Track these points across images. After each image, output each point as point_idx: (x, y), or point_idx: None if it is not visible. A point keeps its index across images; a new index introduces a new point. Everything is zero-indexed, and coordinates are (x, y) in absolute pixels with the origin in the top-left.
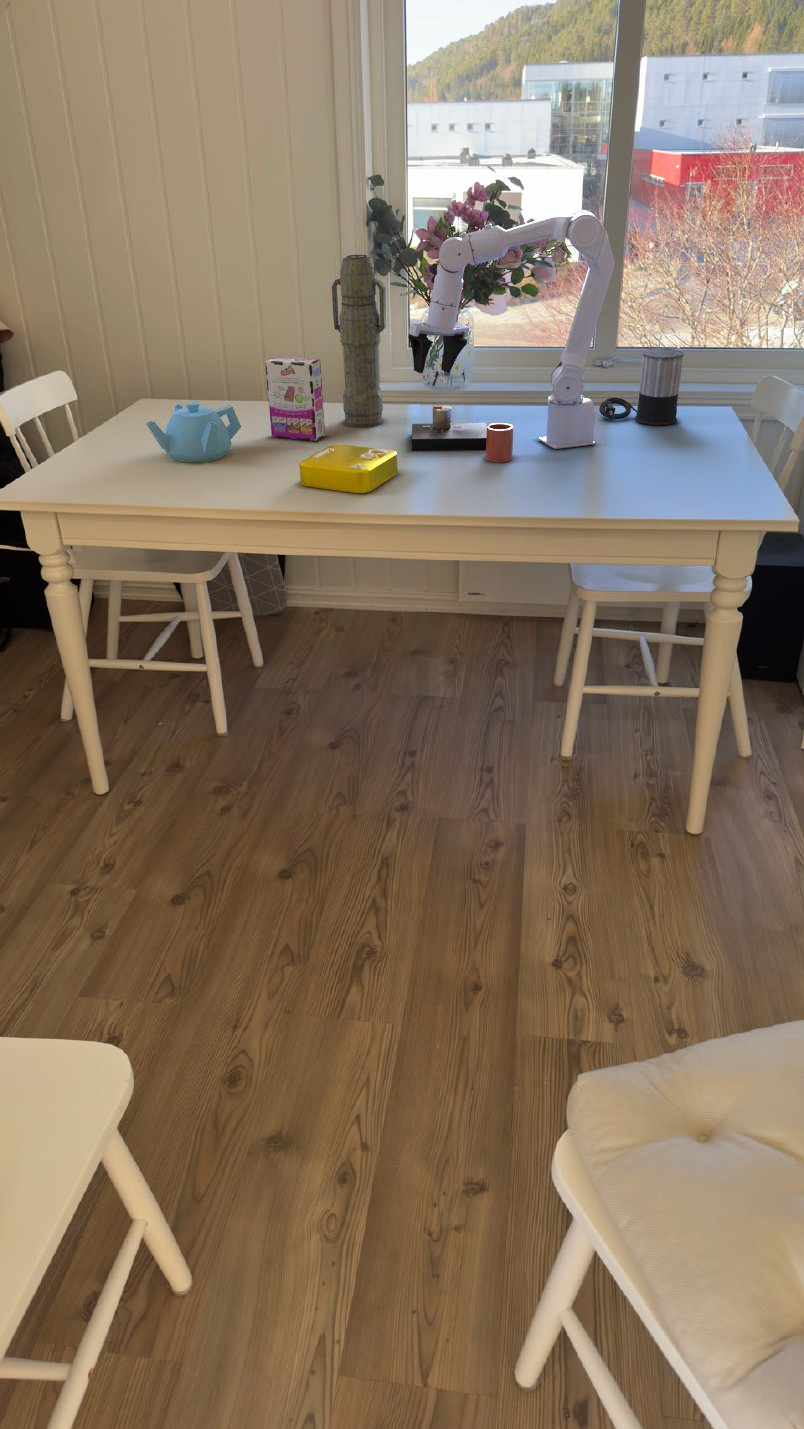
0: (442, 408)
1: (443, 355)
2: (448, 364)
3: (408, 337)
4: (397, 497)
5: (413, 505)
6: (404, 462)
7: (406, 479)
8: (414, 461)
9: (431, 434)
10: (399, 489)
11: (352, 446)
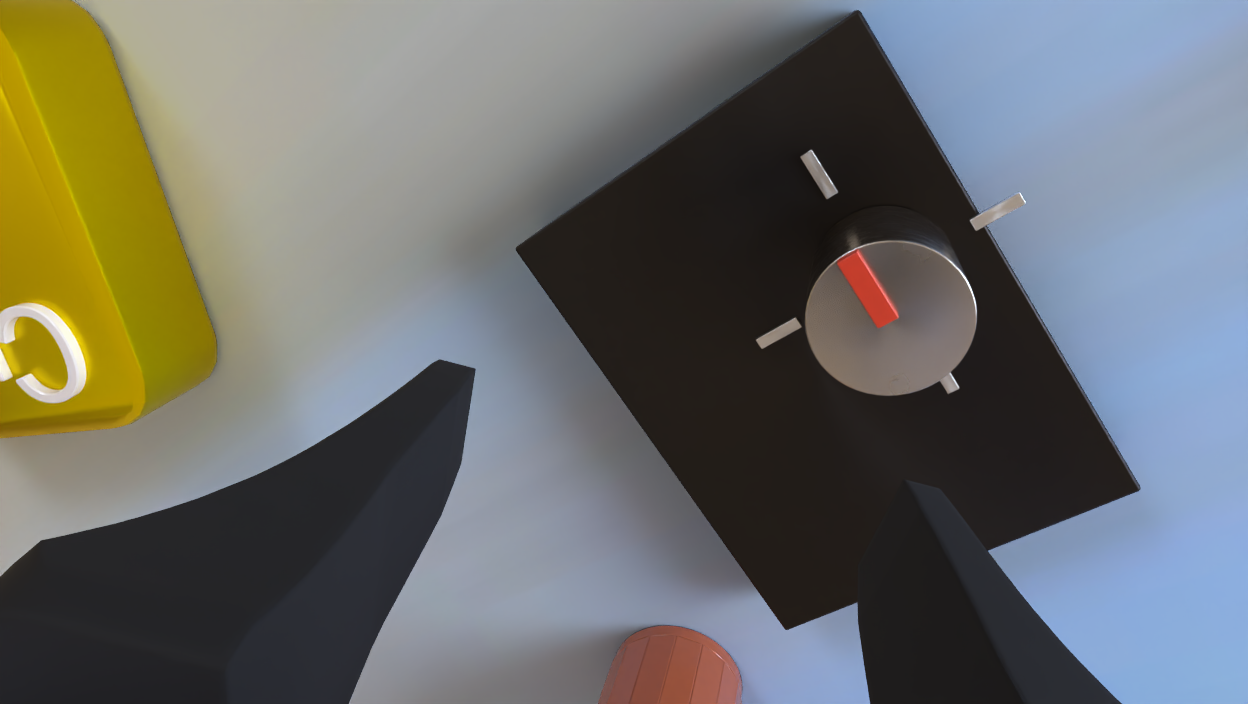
0: (873, 332)
1: (959, 606)
2: (877, 634)
3: (37, 550)
4: (37, 517)
5: None
6: (360, 308)
7: (193, 447)
8: (404, 345)
9: (673, 306)
10: (95, 482)
11: (19, 147)
